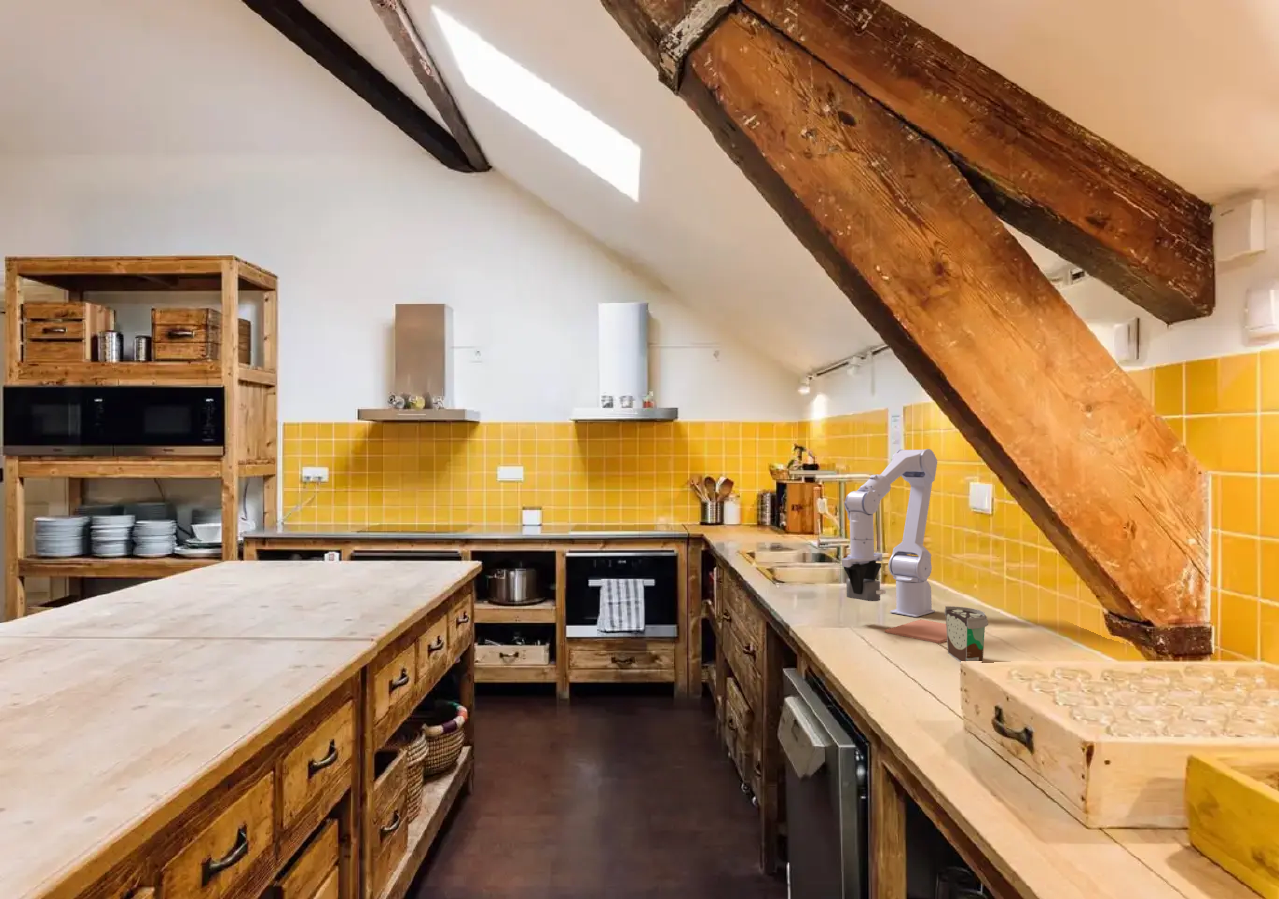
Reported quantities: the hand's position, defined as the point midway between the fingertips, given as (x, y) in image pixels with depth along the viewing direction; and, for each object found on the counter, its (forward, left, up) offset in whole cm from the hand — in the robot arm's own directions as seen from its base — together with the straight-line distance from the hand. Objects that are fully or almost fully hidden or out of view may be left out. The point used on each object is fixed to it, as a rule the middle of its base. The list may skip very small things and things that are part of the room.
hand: (863, 592), depth 187 cm
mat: (-5, +15, -8) cm, 18 cm away
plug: (0, 0, -1) cm, 1 cm away
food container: (+10, +33, -8) cm, 35 cm away
